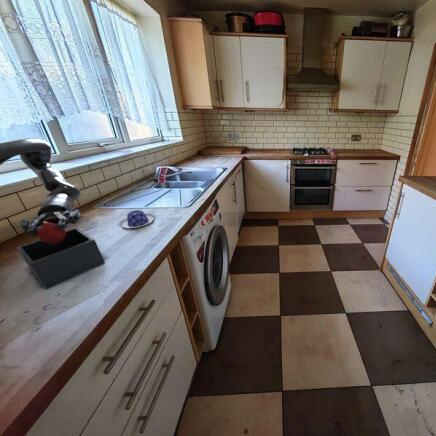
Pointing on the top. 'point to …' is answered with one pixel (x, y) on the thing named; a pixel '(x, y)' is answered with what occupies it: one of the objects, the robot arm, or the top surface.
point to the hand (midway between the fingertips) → (46, 230)
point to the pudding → (137, 219)
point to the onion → (51, 233)
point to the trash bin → (61, 257)
